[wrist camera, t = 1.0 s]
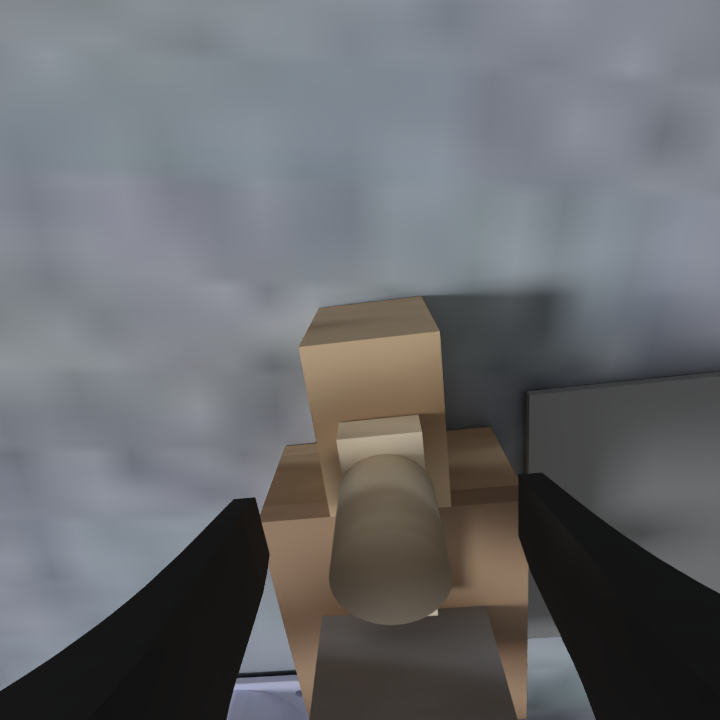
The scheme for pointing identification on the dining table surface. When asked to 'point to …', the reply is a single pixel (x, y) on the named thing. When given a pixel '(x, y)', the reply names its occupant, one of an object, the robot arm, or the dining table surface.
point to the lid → (416, 639)
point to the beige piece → (387, 525)
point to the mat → (635, 467)
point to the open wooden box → (381, 401)
